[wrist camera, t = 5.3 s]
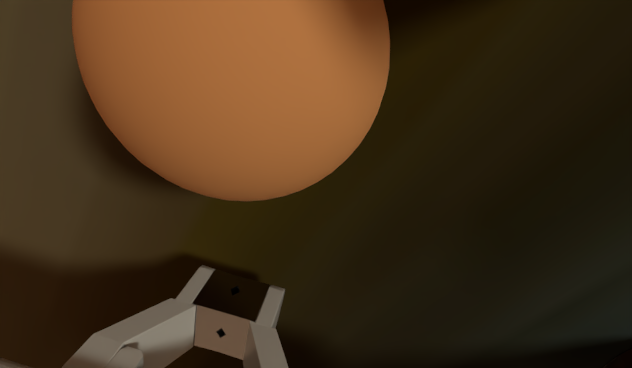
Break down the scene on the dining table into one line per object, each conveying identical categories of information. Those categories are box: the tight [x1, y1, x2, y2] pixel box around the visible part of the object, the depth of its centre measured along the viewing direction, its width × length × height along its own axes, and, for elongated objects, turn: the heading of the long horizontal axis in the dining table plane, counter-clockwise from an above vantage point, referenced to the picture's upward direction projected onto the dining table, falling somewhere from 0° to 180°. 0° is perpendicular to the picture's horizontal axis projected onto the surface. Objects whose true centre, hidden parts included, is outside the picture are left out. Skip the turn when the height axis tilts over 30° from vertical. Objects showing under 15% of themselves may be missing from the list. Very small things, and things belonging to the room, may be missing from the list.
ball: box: [72, 0, 390, 201], centre depth 6 cm, size 6×6×6 cm
